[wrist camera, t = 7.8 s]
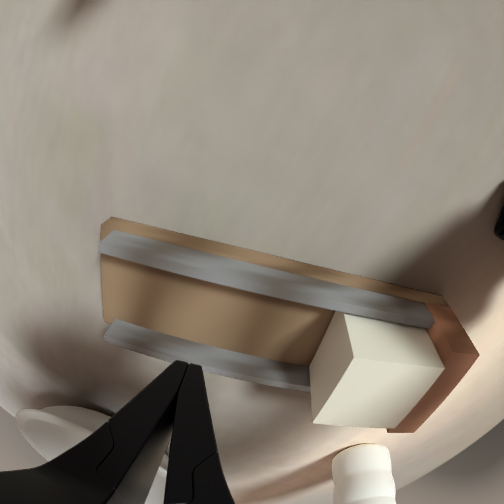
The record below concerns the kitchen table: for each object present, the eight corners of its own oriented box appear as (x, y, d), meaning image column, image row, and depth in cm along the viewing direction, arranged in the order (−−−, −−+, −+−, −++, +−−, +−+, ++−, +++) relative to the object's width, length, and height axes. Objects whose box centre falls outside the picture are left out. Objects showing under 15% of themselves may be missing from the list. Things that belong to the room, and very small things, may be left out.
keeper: (419, 316, 19) (445, 368, 14) (381, 376, 21) (394, 428, 17) (340, 300, 19) (354, 357, 14) (309, 366, 21) (312, 422, 17)
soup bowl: (245, 457, 32) (239, 504, 26) (144, 480, 40) (135, 511, 34) (70, 338, 26) (36, 386, 20) (24, 399, 34) (4, 429, 28)
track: (442, 296, 20) (479, 354, 14) (395, 371, 24) (413, 432, 18) (111, 216, 20) (55, 261, 14) (112, 310, 23) (73, 365, 17)
